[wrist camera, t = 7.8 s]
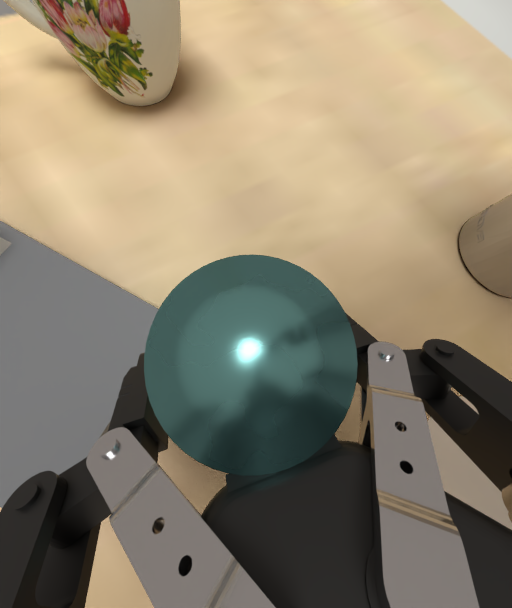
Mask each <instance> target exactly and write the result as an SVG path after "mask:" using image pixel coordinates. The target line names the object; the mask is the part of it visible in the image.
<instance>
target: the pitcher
mask: <svg viewBox="0 0 512 608" xmlns="http://www.w3.org/2000/svg"><path fill="white" fill-rule="evenodd" d="M3 1H5V2H6V3H7V4H8V5H9V6H10V7H11V8H12V9H13V10H15V11H16V12H17V13H18V14H19V15H21V16H22V17H23V18H24V19H26V20H27V21H28V22H30V23H31V24H32V25H34V26H35V27H37V28H38V29H40V30H41V31H43V32H45V33H47V34H49V35H51V36H53V37H55V38H57V39H58V40H59V41H60V42H61V44H62V45H63V46H64V48H65V49H66V50H67V51H68V53H69V54H70V55H71V56H72V58H73V59H74V60H75V61H76V62H77V64H78V65H79V66H80V67H81V68H82V69H83V70H84V71H85V72H86V74H87V75H88V76H89V77H90V78H91V79H92V80H93V81H94V82H95V83H96V84H98V85H99V86H100V87H101V88H102V89H104V90H105V91H106V92H108V93H109V94H111V95H112V96H113V97H114V98H115V99H117V100H118V101H120V102H122V103H125V104H128V105H133V106H147V105H152V104H155V103H157V102H159V101H161V100H163V99H164V98H165V97H166V96H167V95H168V94H169V93H170V91H171V88H172V85H173V82H174V80H175V77H176V74H177V69H178V64H179V56H180V43H181V17H180V1H179V0H32V1H33V2H34V4H35V5H34V4H33V3H32V2H31V1H29V0H3Z"/></svg>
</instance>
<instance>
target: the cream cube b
mask: <svg viewBox="0 0 512 608" xmlns="http://www.w3.org/2000/svg"><path fill="white" fill-rule="evenodd" d="M11 244H12V243H11V242H9V241H7V240H5V239H3V238H2V237H0V255H1V254H2V253H3V252H4V251H5V250H6V249H7V248H8V247H9V246H10V245H11Z"/></svg>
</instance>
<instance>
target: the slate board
mask: <svg viewBox="0 0 512 608" xmlns="http://www.w3.org/2000/svg"><path fill="white" fill-rule="evenodd" d="M0 237H2V238H3V239H5V240H7V241H9V242H11V243H12V244H11V245H10V246H9V247H8V248H7V249H6V250H5V251H4V252H3V253H2V254H1V255H0V507H1V508H3V506H4V504H5V503H6V501H7V500H8V499H9V497H10V496H11V495H12V494H13V493H14V491H15V490H16V489H17V488H18V487H19V486H21V485H22V484H23V483H24V482H25V481H26V480H28V479H29V478H31V477H32V476H34V475H36V474H38V473H40V472H43V471H53V472H54V473H56V474H57V475H59V474H61V473H62V472H64V471H66V470H67V469H69V468H70V467H72V466H74V465H75V464H77V463H78V462H80V461H82V460H83V459H85V458H86V457H87V456H88V453H89V451H90V449H91V448H92V446H93V445H94V444H95V442H96V441H97V440H98V439H99V438H100V437H101V436H103V435H104V434H105V433H107V432H108V429H109V425H110V422H111V418H112V415H113V412H114V408H115V405H116V402H117V398H119V397H118V395H119V392H120V389H121V385H122V381H123V378H124V376H125V375H126V374H127V372H128V371H129V369H130V368H131V367H134V366H137V363H138V359H139V355H140V354H141V353H144V352H145V348H146V341H147V338H148V334H149V331H150V327H151V325H152V323H153V320H154V318H155V316H156V313H157V312H158V310H159V309H157V308H156V307H154V306H152V305H150V304H148V303H147V302H145V301H143V300H141V299H139V298H138V297H136V296H134V295H132V294H130V293H129V292H127V291H125V290H123V289H121V288H120V287H118V286H116V285H114V284H113V283H111V282H109V281H107V280H105V279H104V278H102V277H100V276H98V275H96V274H95V273H93V272H91V271H89V270H87V269H86V268H84V267H82V266H80V265H78V264H77V263H75V262H73V261H71V260H69V259H68V258H66V257H64V256H62V255H61V254H59V253H57V252H55V251H53V250H52V249H50V248H48V247H46V246H44V245H43V244H41V243H39V242H37V241H35V240H34V239H32V238H30V237H28V236H26V235H25V234H23V233H21V232H19V231H17V230H16V229H14V228H12V227H10V226H9V225H7V224H5V223H3V222H1V221H0Z"/></svg>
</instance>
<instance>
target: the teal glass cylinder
mask: <svg viewBox="0 0 512 608" xmlns="http://www.w3.org/2000/svg"><path fill="white" fill-rule="evenodd" d="M357 365H358V362H357V349H356V344H355V339H354V335H353V332H352V329H351V326H350V323H349V321H348V318H347V316H346V314H345V312H344V310H343V309H342V307H341V305H340V304H339V302H338V300H337V299H336V298H335V297H334V295H333V294H332V293H331V291H330V290H329V289H328V288H327V287H326V286H325V285H324V284H323V283H322V282H321V281H320V280H318V279H317V278H316V277H314V276H313V275H312V274H311V273H309V272H307V271H306V270H304V269H303V268H301V267H299V266H297V265H295V264H292V263H290V262H288V261H285V260H282V259H279V258H274V257H269V256H263V255H239V256H233V257H227V258H224V259H221V260H217V261H214V262H212V263H210V264H207V265H205V266H203V267H201V268H200V269H198V270H196V271H195V272H193V273H192V274H190V275H189V276H188V277H186V278H185V279H184V280H182V281H181V282H180V283H179V284H178V285H177V286H176V287H175V288H174V289H173V290H172V291H171V293H170V294H169V295H168V297H167V298H166V299H165V300H164V302H163V303H162V305H161V307H160V308H159V310H158V312H157V313H156V316H155V318H154V320H153V323H152V325H151V327H150V331H149V334H148V338H147V341H146V348H145V354H144V376H145V384H146V389H147V393H148V397H149V401H150V404H151V406H152V408H153V411H154V413H155V416H156V417H157V419H158V421H159V423H160V424H161V426H162V428H163V429H164V431H165V432H166V433H167V434H168V436H169V437H170V438H171V439H172V441H173V442H174V443H175V444H176V445H177V446H178V447H180V448H181V449H182V450H183V451H184V452H185V453H186V454H188V455H189V456H191V457H192V458H194V459H195V460H196V461H198V462H200V463H202V464H204V465H206V466H208V467H210V468H212V469H216V470H219V471H222V472H225V473H230V474H236V475H264V474H271V473H276V472H279V471H282V470H285V469H288V468H291V467H293V466H295V465H297V464H299V463H301V462H303V461H304V460H306V459H307V458H309V457H310V456H312V455H313V454H315V453H316V452H317V451H318V450H319V449H320V448H321V447H323V446H324V445H325V444H326V443H327V442H328V441H329V439H330V438H331V437H332V436H333V434H334V433H335V432H336V431H337V429H338V428H339V426H340V424H341V423H342V421H343V420H344V418H345V416H346V413H347V411H348V409H349V407H350V404H351V401H352V398H353V395H354V391H355V386H356V380H357Z"/></svg>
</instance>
